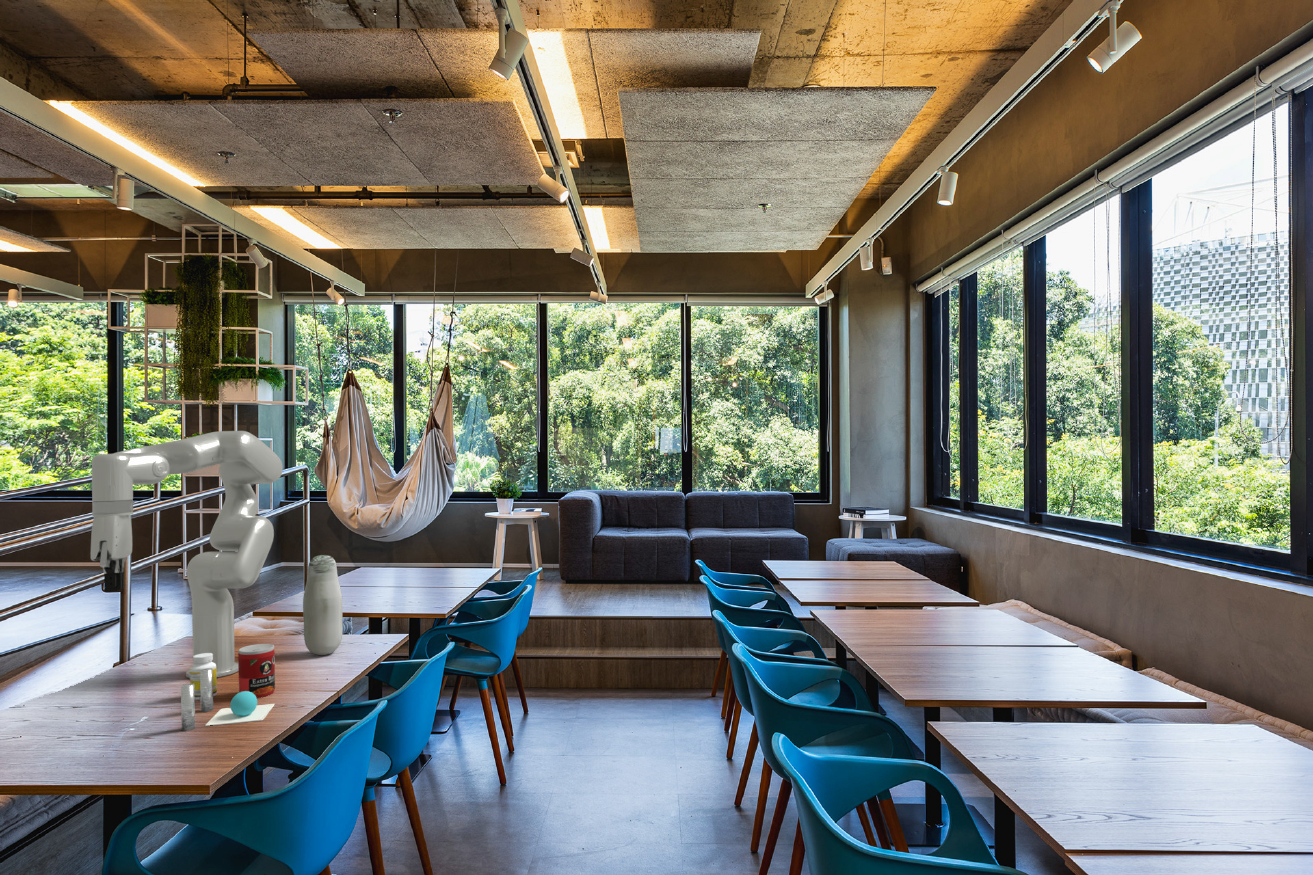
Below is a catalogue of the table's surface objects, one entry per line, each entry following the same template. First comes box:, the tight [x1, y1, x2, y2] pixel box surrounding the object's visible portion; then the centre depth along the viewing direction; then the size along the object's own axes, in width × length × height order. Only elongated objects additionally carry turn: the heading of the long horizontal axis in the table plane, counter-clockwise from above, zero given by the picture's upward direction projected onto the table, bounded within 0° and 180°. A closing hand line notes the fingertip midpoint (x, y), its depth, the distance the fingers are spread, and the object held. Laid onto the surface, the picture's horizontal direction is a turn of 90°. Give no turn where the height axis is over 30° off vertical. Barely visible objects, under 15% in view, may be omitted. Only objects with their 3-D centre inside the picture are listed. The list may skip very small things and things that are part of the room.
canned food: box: [237, 643, 276, 699], centre depth 185 cm, size 8×8×11 cm
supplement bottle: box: [189, 653, 218, 701], centre depth 184 cm, size 5×5×10 cm
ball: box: [229, 691, 258, 716], centre depth 169 cm, size 5×5×5 cm
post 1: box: [180, 683, 196, 732], centre depth 162 cm, size 2×2×9 cm
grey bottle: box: [302, 554, 343, 656], centre depth 221 cm, size 10×10×28 cm
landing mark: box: [205, 703, 275, 727], centre depth 170 cm, size 11×11×1 cm
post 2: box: [200, 668, 214, 713], centre depth 174 cm, size 2×2×9 cm
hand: (114, 590), depth 174 cm, fingers closed
